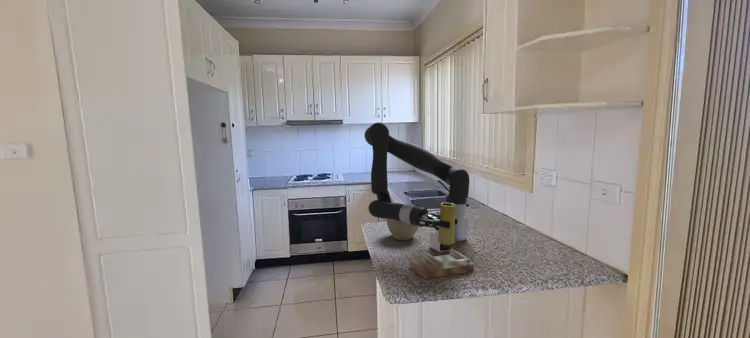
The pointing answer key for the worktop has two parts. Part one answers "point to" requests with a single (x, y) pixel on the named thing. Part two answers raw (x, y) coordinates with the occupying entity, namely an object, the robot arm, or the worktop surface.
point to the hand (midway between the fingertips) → (453, 223)
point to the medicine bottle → (435, 244)
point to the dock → (442, 265)
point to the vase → (449, 216)
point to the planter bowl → (401, 229)
